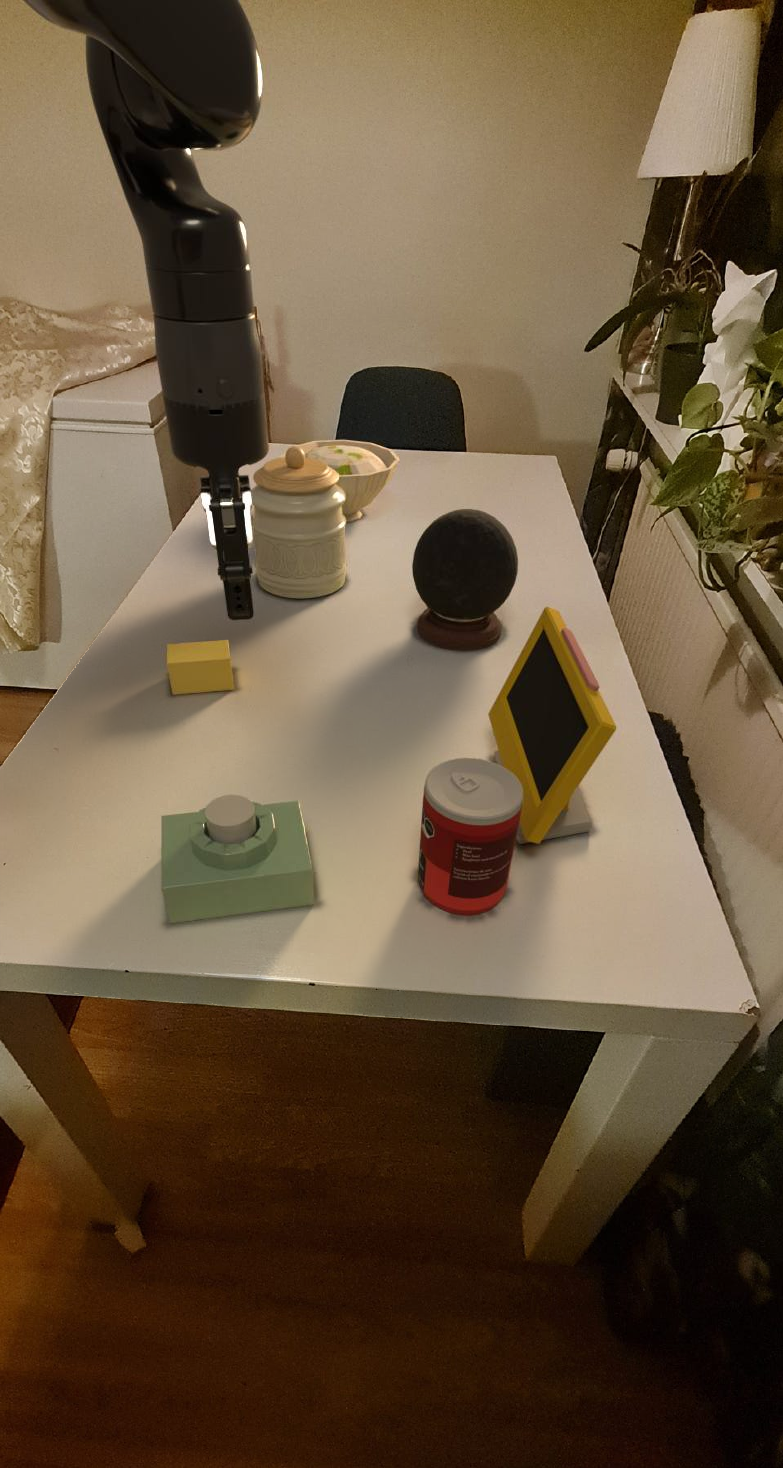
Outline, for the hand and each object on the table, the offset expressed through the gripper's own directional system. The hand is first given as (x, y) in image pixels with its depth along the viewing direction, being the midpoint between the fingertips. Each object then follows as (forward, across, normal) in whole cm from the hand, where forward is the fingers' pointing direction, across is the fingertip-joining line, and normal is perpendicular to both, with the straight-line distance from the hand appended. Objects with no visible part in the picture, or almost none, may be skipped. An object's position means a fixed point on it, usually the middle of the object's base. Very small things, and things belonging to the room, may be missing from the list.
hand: (239, 595), depth 69 cm
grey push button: (+12, +18, -3) cm, 22 cm away
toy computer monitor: (+18, +12, +27) cm, 34 cm away
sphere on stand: (+18, -24, +28) cm, 41 cm away
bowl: (+18, -67, +18) cm, 72 cm away
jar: (+18, -42, +9) cm, 46 cm away
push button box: (+17, +18, -3) cm, 25 cm away
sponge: (+17, -15, -6) cm, 24 cm away
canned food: (+18, +22, +16) cm, 33 cm away
